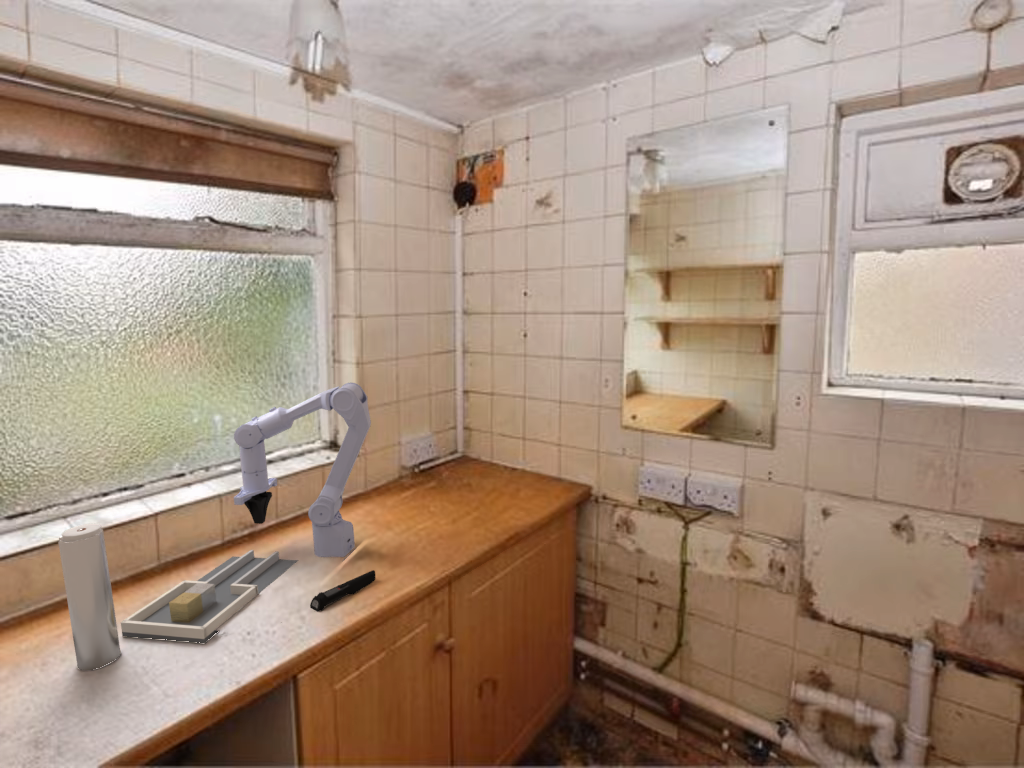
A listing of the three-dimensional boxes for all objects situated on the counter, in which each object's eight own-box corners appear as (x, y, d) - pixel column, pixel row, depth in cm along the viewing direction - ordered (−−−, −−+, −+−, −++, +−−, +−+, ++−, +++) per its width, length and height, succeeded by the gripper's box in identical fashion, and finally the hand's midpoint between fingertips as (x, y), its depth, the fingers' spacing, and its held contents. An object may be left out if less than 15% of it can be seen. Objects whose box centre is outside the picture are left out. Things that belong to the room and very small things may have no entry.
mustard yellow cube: (203, 611, 117) (200, 593, 117) (188, 622, 113) (186, 603, 113) (186, 610, 118) (183, 592, 117) (171, 621, 114) (168, 602, 114)
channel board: (298, 564, 140) (297, 552, 139) (204, 643, 108) (202, 629, 107) (233, 560, 143) (231, 548, 143) (122, 636, 111) (120, 622, 111)
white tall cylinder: (92, 650, 107) (73, 523, 103) (128, 647, 107) (110, 521, 104) (68, 672, 100) (47, 537, 97) (107, 669, 101) (87, 535, 97)
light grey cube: (216, 601, 121) (214, 584, 121) (203, 611, 117) (201, 593, 117) (199, 600, 122) (197, 582, 121) (186, 610, 118) (183, 592, 117)
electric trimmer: (380, 585, 129) (379, 571, 129) (318, 614, 118) (317, 599, 117) (370, 580, 132) (369, 567, 131) (309, 608, 120) (307, 594, 120)
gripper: (257, 461, 148) (262, 511, 150) (220, 478, 134) (226, 533, 136) (282, 461, 147) (287, 512, 149) (247, 479, 133) (252, 534, 135)
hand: (259, 522), depth 142 cm, fingers closed
